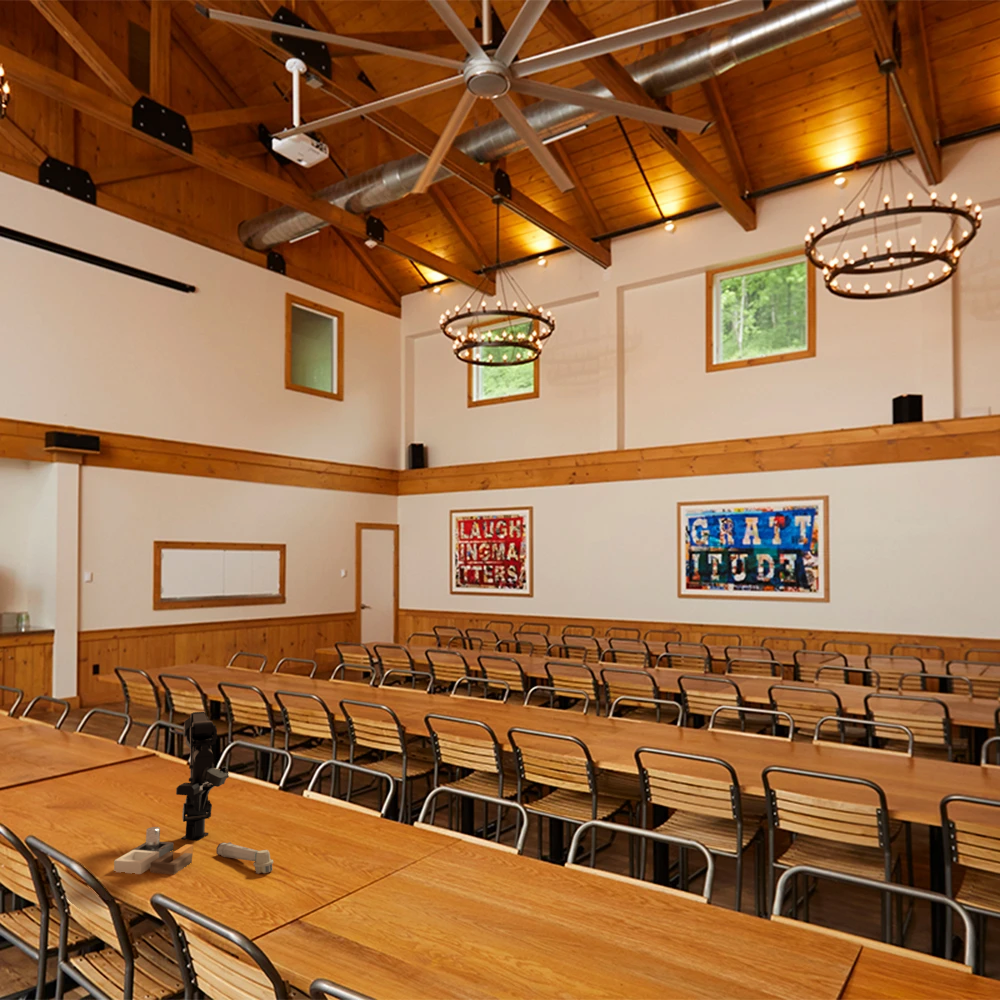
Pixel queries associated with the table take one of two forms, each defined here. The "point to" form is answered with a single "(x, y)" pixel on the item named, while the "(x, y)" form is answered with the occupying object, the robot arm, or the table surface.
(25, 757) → the table surface
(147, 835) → the peg
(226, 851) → the grey handle with block
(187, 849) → the block
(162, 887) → the table surface
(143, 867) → the frame
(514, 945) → the table surface
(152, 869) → the key guide
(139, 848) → the socket block
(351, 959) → the table surface
